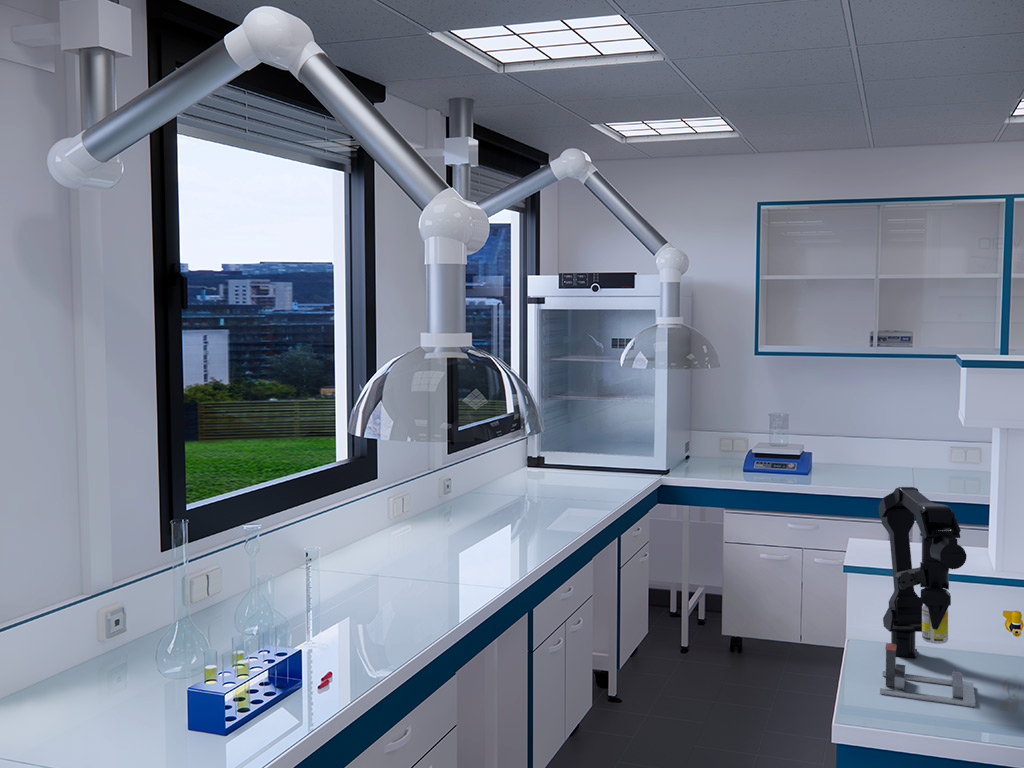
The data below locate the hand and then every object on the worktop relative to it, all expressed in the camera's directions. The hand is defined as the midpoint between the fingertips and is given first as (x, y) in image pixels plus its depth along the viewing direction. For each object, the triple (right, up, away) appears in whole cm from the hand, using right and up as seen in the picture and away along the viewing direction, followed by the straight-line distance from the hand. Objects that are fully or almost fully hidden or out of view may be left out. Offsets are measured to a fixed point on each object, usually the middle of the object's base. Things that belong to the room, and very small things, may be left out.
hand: (934, 625), depth 217 cm
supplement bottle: (0, -4, 0) cm, 4 cm away
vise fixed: (-4, -14, -5) cm, 15 cm away
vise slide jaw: (-10, -13, -2) cm, 17 cm away
